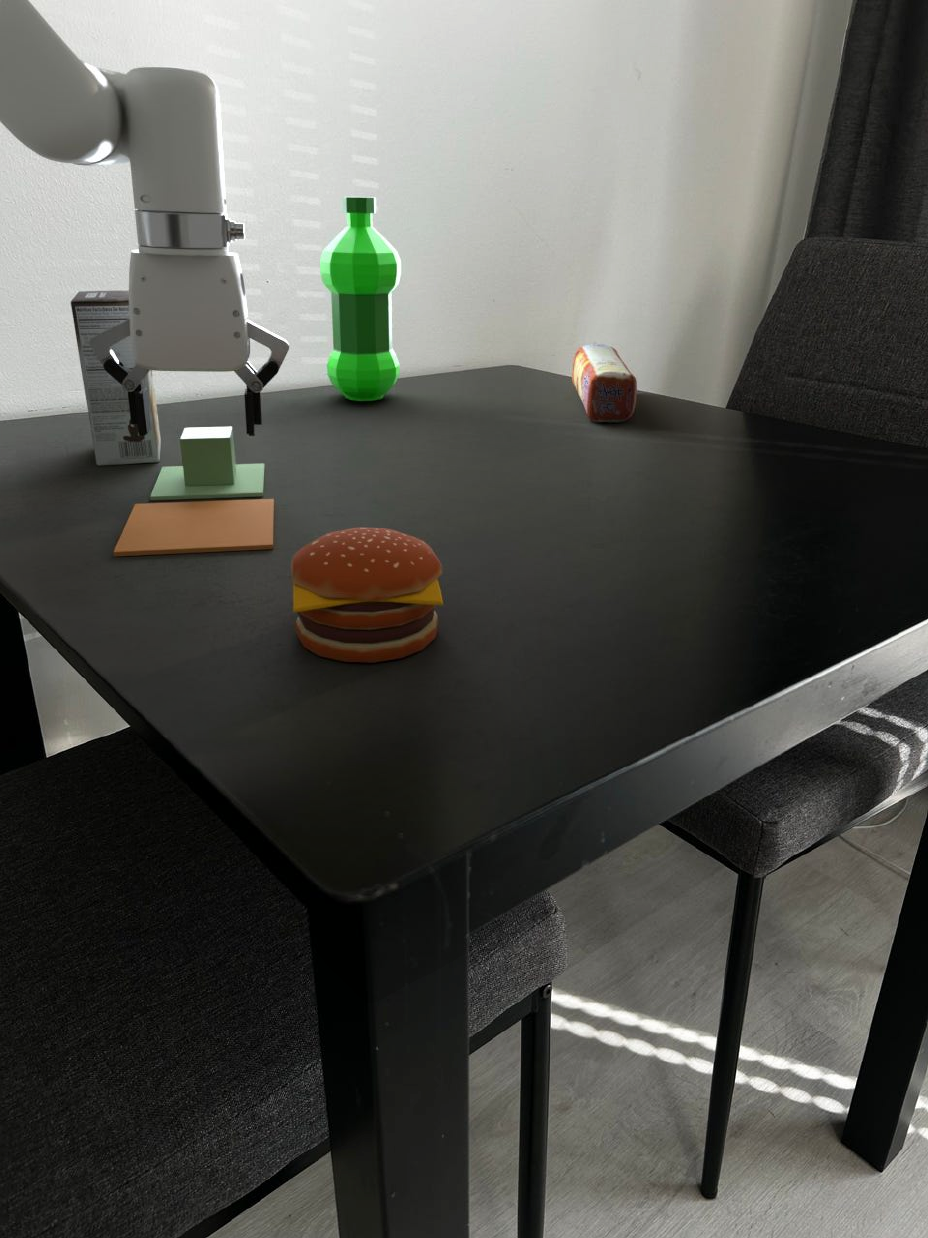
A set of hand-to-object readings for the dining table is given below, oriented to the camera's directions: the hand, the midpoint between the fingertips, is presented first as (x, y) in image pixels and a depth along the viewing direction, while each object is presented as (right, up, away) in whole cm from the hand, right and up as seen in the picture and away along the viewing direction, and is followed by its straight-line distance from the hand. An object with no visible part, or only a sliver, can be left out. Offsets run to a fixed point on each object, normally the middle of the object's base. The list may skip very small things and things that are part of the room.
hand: (198, 432), depth 86 cm
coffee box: (-11, 0, +11) cm, 16 cm away
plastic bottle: (+11, +13, +40) cm, 44 cm away
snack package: (+43, +11, +37) cm, 58 cm away
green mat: (+1, -4, +2) cm, 5 cm away
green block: (+1, -4, +2) cm, 5 cm away
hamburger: (+19, -19, -27) cm, 38 cm away
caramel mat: (+3, -10, -9) cm, 14 cm away
